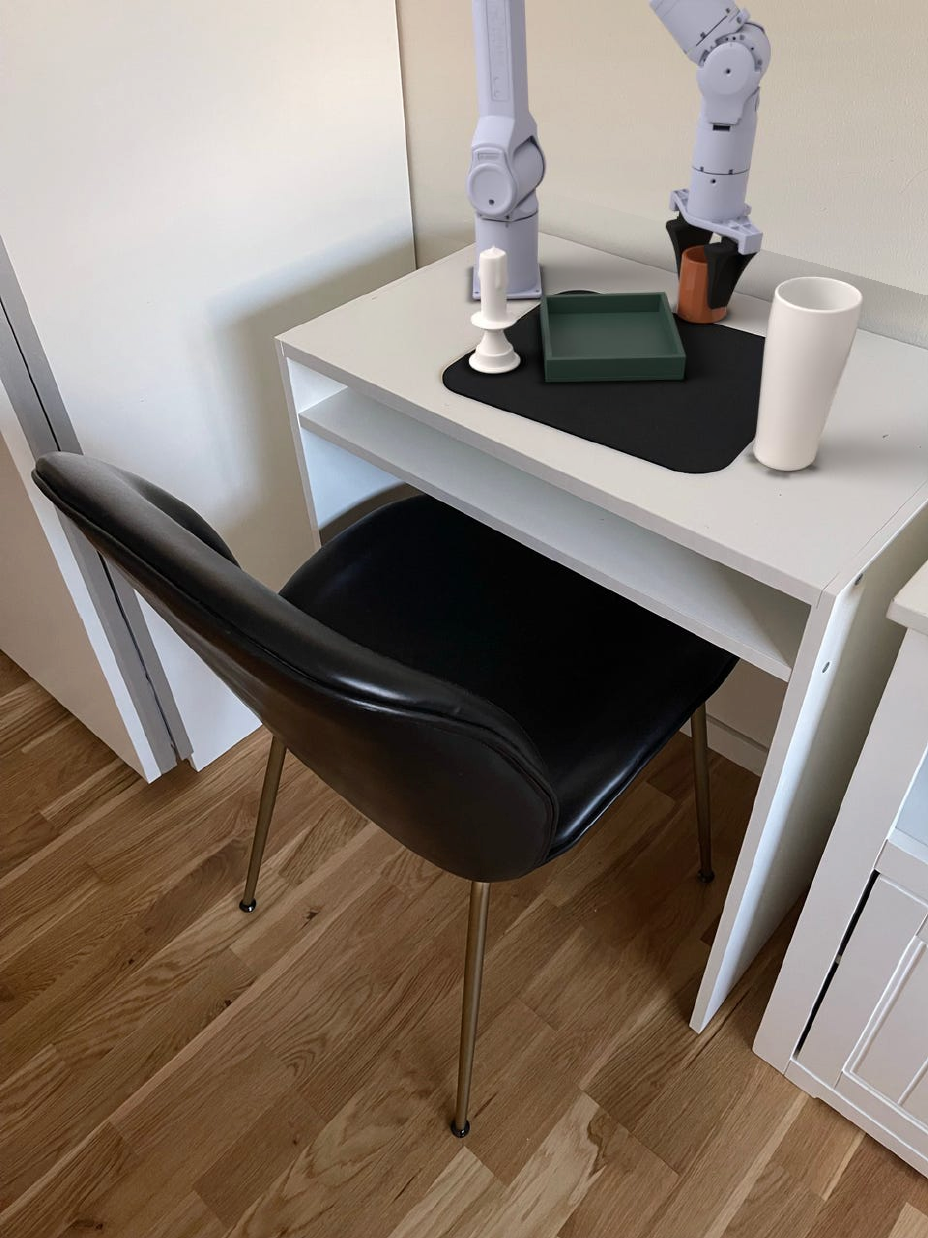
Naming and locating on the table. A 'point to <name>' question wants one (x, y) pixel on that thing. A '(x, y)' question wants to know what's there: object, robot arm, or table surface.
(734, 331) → the table surface
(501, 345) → the candle
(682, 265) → the cup
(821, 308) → the drinking glass
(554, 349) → the tray
